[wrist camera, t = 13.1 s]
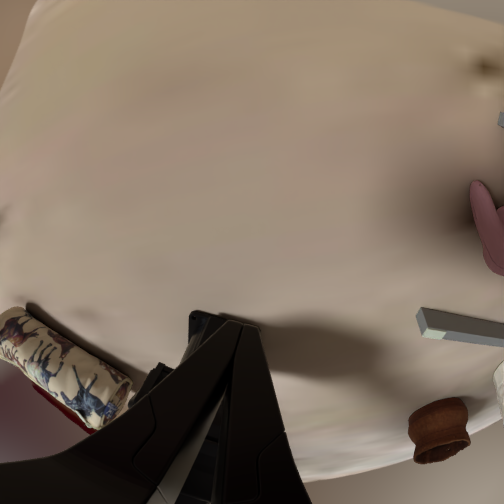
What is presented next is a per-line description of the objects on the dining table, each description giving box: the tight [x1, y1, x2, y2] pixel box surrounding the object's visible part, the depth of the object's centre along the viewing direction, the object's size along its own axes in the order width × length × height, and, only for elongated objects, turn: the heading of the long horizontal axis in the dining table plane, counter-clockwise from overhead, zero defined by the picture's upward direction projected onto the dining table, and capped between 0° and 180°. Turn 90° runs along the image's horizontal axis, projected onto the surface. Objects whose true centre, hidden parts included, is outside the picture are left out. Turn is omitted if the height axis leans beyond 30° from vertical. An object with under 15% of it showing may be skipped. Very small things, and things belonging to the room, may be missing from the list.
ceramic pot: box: [408, 397, 471, 464], centre depth 27 cm, size 18×18×7 cm
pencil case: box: [0, 307, 133, 430], centre depth 32 cm, size 22×8×10 cm, turn 65°
